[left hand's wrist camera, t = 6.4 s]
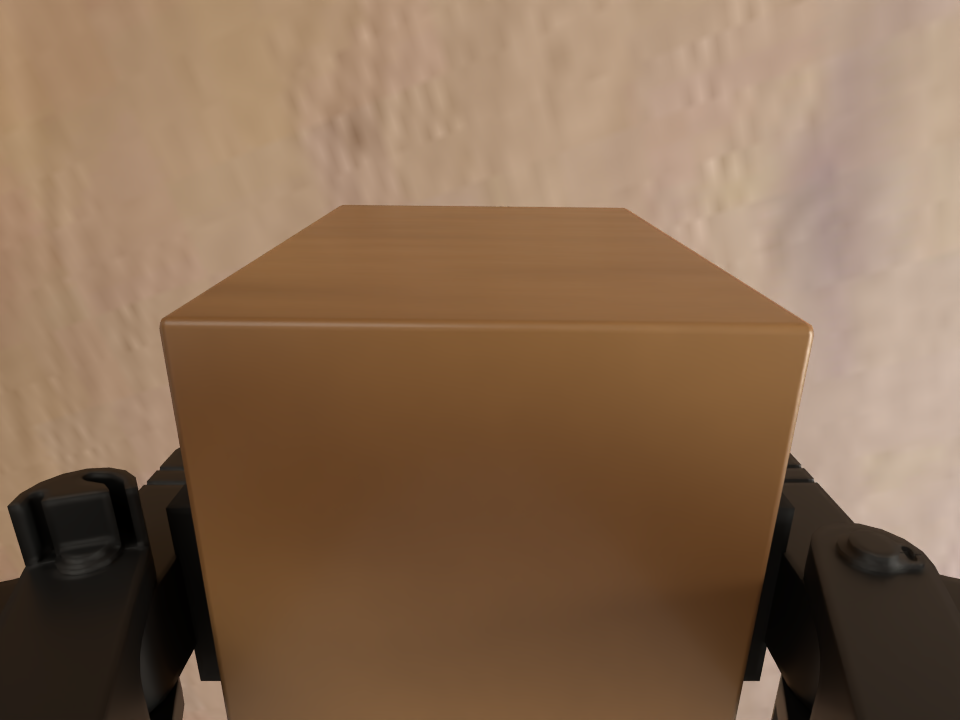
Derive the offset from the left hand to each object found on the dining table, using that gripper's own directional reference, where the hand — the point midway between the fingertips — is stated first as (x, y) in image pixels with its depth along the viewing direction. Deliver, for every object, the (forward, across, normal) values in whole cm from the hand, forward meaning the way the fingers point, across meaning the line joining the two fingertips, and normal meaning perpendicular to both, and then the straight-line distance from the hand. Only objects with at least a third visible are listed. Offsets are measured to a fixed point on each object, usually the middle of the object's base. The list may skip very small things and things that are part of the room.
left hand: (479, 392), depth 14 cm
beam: (0, 0, -29) cm, 29 cm away
